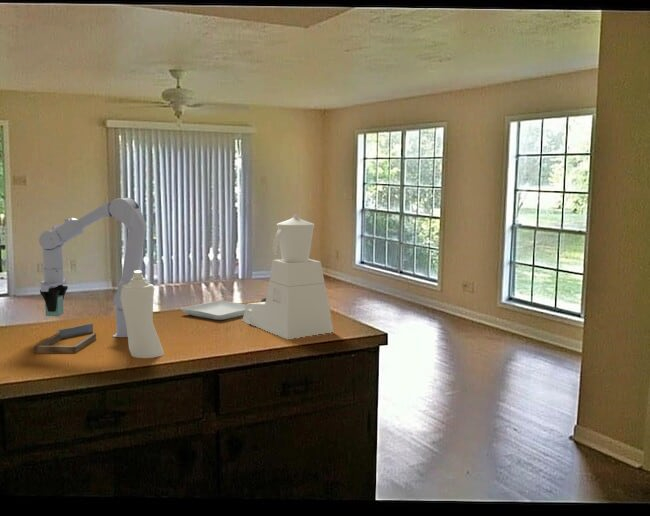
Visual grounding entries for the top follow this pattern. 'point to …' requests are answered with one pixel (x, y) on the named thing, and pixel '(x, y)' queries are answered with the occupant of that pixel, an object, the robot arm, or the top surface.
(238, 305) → the salad plate
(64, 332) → the gate
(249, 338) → the top surface
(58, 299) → the teal block
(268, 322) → the blender
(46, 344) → the bay
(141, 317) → the white bottle
